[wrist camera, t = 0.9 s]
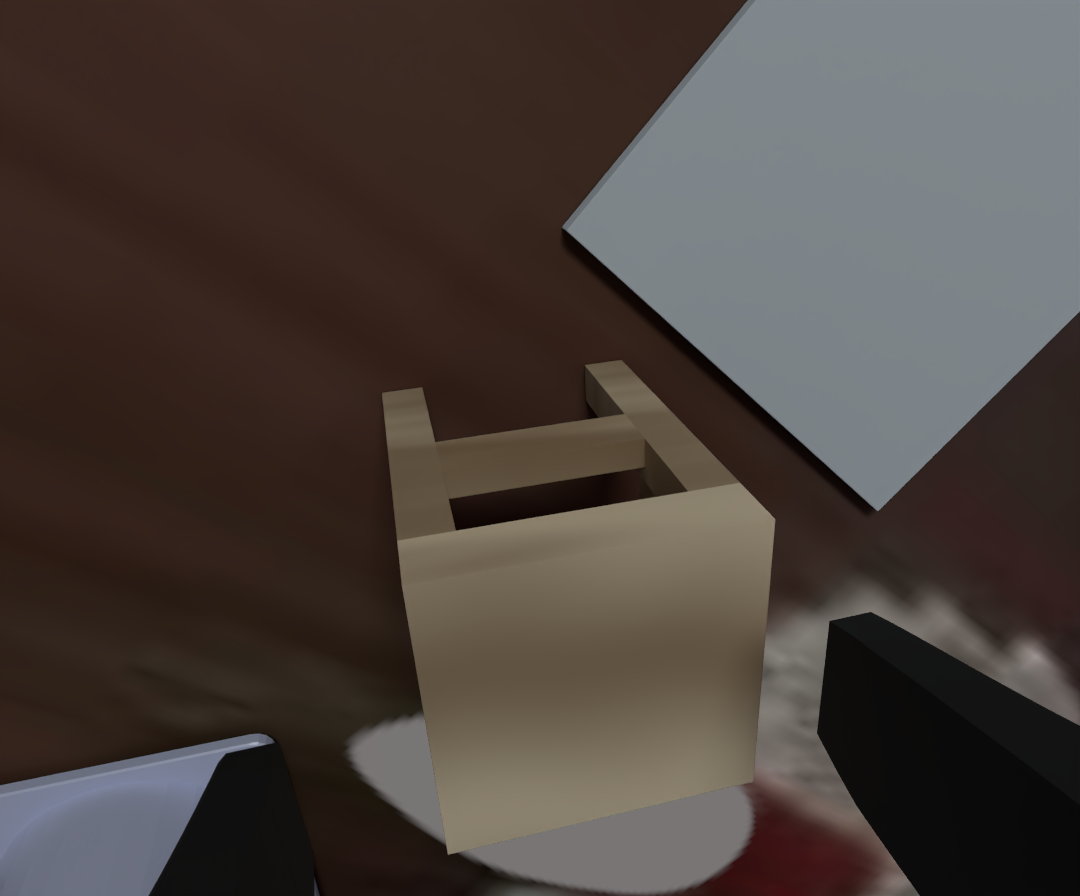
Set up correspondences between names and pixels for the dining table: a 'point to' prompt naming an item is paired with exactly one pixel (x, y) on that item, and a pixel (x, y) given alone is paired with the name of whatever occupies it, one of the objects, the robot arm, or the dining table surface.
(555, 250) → the dining table surface
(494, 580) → the pine stool
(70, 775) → the robot arm
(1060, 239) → the rubber mat
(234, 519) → the dining table surface
